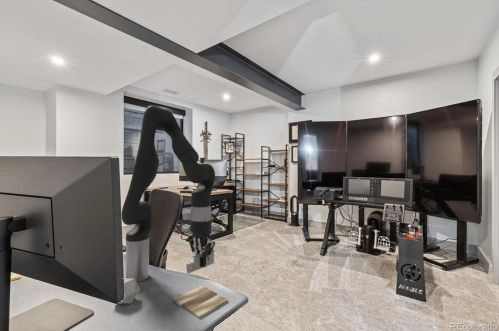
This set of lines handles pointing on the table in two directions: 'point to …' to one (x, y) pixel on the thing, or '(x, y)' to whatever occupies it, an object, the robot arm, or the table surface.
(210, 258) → the garden wall model
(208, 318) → the table surface
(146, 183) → the robot arm
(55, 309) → the table surface
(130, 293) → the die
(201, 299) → the board
